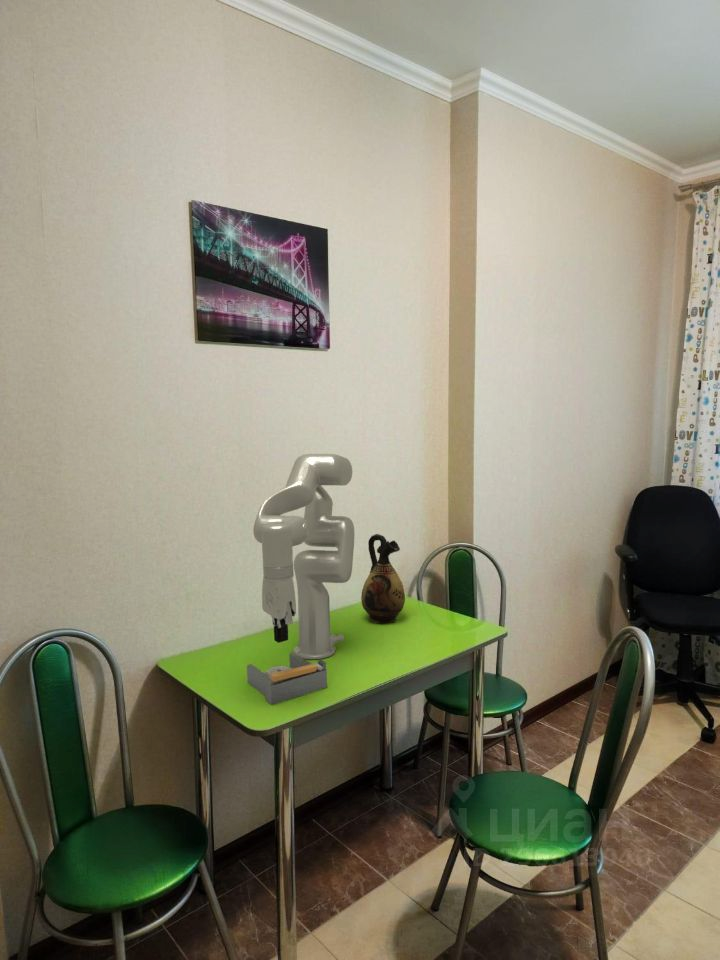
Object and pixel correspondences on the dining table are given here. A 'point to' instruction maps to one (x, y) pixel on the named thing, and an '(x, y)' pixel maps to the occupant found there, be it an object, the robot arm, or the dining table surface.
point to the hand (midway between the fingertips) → (281, 640)
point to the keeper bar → (295, 672)
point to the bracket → (288, 681)
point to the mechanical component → (276, 670)
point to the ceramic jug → (382, 584)
